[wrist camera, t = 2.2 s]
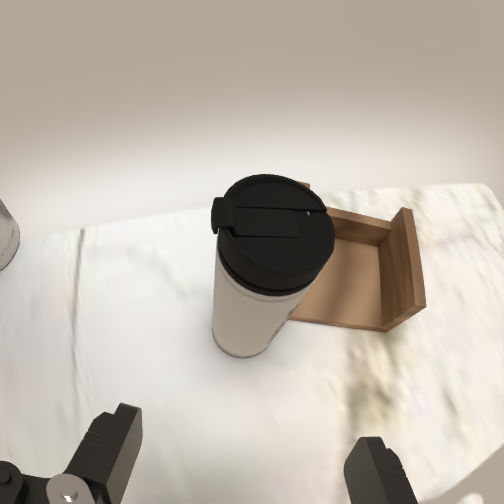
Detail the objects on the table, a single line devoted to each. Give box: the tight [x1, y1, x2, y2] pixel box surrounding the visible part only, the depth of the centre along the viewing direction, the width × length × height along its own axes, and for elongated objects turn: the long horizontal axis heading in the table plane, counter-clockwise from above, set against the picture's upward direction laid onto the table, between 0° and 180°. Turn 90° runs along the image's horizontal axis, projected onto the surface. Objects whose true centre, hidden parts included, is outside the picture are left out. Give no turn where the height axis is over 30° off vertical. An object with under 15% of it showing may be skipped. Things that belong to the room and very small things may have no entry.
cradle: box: [288, 181, 426, 332], centre depth 33 cm, size 14×12×8 cm
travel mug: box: [211, 174, 335, 358], centre depth 24 cm, size 6×7×20 cm
